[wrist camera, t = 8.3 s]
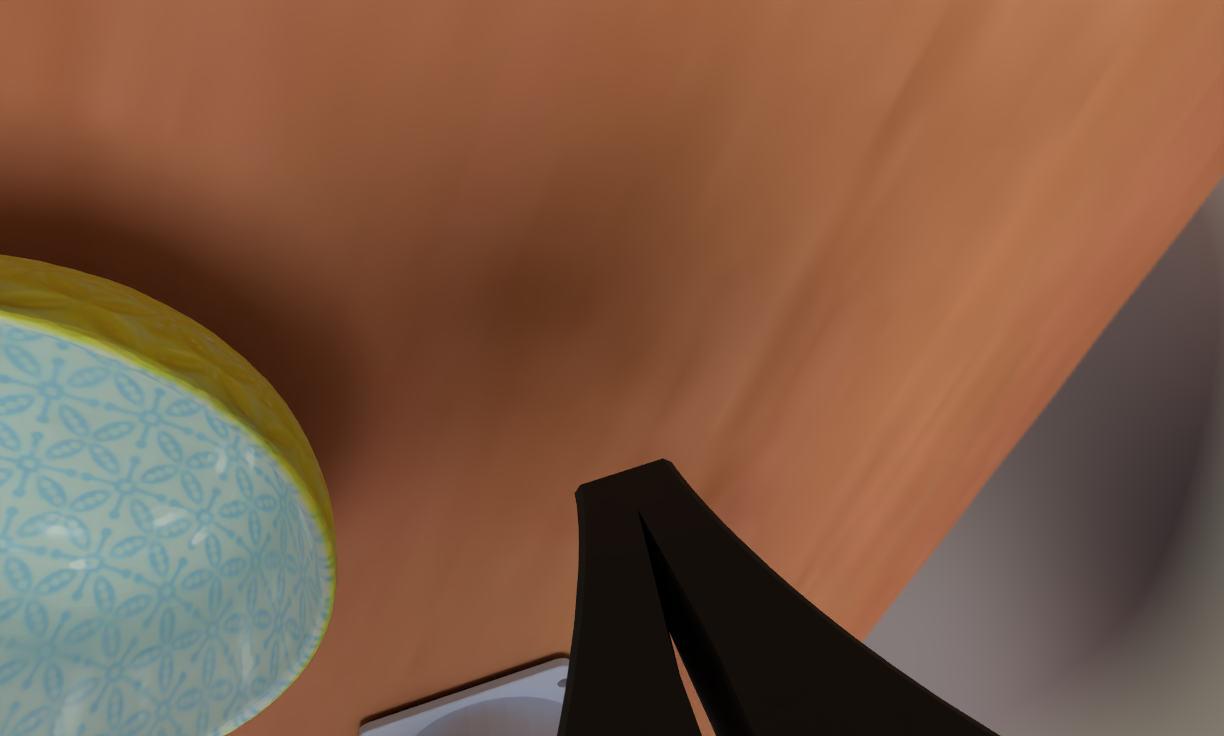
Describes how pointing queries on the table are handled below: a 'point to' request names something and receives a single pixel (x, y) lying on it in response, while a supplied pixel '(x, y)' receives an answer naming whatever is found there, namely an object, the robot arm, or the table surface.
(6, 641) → the bowl
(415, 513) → the table surface
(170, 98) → the table surface
